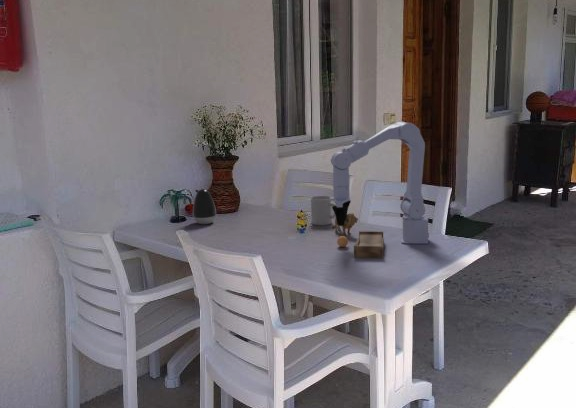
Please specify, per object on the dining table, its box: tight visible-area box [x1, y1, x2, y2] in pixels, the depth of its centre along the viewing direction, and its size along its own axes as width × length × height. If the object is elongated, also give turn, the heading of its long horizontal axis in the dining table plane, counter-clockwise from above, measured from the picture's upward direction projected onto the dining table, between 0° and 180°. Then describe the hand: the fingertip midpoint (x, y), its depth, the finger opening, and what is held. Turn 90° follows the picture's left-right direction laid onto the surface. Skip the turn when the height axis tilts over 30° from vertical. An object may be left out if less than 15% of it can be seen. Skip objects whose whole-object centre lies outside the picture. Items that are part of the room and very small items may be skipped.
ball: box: [336, 235, 349, 248], centre depth 215 cm, size 4×4×4 cm
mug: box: [310, 195, 337, 226], centre depth 250 cm, size 12×8×11 cm
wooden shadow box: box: [353, 230, 385, 259], centre depth 211 cm, size 10×19×4 cm, turn 169°
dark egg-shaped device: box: [192, 188, 217, 225], centre depth 259 cm, size 10×10×15 cm
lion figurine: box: [331, 212, 359, 237], centre depth 234 cm, size 15×5×9 cm, turn 33°
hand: (342, 222), depth 214 cm, fingers open, 7 cm apart
